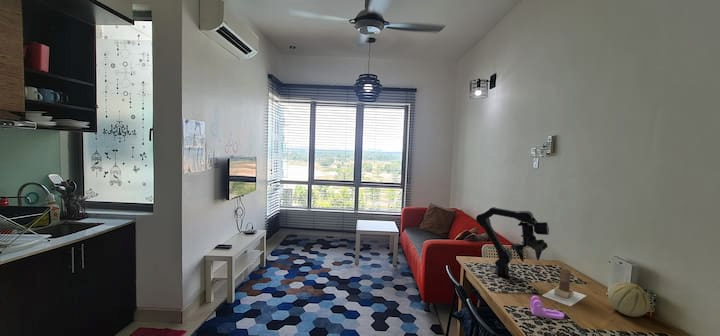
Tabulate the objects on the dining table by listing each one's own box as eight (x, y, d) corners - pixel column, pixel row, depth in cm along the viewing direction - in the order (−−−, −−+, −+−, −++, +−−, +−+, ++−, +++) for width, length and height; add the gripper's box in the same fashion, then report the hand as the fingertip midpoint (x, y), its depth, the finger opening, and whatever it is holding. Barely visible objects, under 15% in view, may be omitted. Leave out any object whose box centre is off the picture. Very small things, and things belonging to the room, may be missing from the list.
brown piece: (567, 299, 155) (568, 274, 155) (554, 294, 160) (555, 270, 160) (573, 295, 159) (574, 271, 159) (560, 291, 164) (562, 267, 164)
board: (570, 308, 149) (570, 306, 148) (541, 297, 159) (541, 295, 159) (586, 297, 160) (586, 295, 160) (558, 287, 171) (558, 286, 171)
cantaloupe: (607, 302, 155) (609, 273, 154) (647, 313, 145) (649, 282, 145) (606, 314, 143) (609, 283, 142) (650, 327, 134) (652, 293, 133)
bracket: (533, 315, 142) (534, 300, 141) (530, 309, 147) (531, 295, 147) (565, 320, 138) (566, 305, 138) (561, 314, 143) (562, 299, 143)
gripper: (521, 237, 168) (523, 266, 168) (553, 234, 170) (555, 263, 170) (509, 234, 179) (511, 261, 179) (539, 231, 181) (542, 257, 181)
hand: (530, 260), depth 177 cm, fingers open, 9 cm apart
